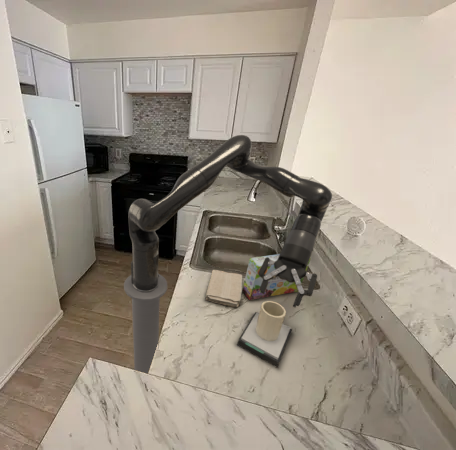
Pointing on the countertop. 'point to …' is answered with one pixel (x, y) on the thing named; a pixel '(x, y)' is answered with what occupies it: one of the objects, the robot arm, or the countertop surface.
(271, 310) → the ceramic cup
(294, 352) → the countertop surface
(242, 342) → the kitchen scale
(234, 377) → the countertop surface
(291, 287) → the snack box
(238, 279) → the washcloth
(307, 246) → the robot arm
